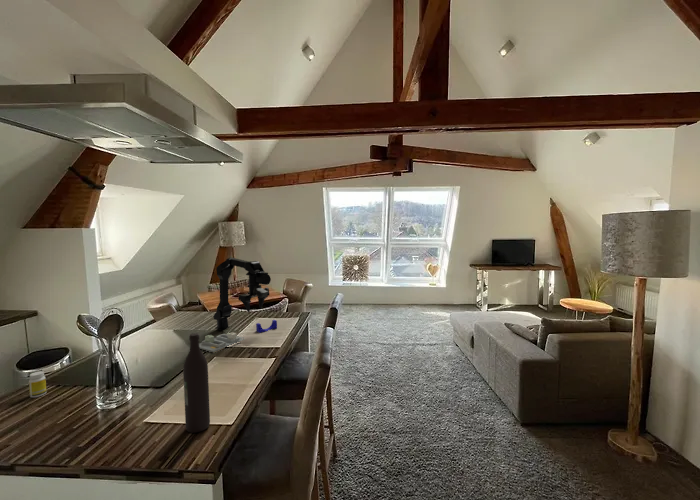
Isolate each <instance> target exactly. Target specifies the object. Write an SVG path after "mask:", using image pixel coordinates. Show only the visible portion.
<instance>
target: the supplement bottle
mask: <svg viewBox="0 0 700 500" xmlns="http://www.w3.org/2000/svg"><path fill="white" fill-rule="evenodd" d="M46 379H47V378H46V376H45V371H44V370H39V371H36V372H32V373H30V374H29V380H28V389H29V390H28V391H29V398H39V397H41V396H44V395H45V394H47V391H48V390H47V381H46Z"/></svg>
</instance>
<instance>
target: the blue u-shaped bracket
mask: <svg viewBox="0 0 700 500" xmlns="http://www.w3.org/2000/svg"><path fill="white" fill-rule="evenodd" d="M255 325H256V326H255V329H256V332H257V333H259V334H261V333H265V331H266V332H269V331H271V329H272V330H275V329H278V321H277V320H276V319H272V321H271V324H270V326H269V327H267V328H263V327H262V324H261V323H259V322H257V323H256V324H255ZM268 330H269V331H268Z"/></svg>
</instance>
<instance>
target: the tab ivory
mask: <svg viewBox="0 0 700 500" xmlns="http://www.w3.org/2000/svg"><path fill="white" fill-rule="evenodd" d="M227 334H228V339H232V340H233V339H236V338H237V333H236V332H234V331H233V332H229V333H227Z"/></svg>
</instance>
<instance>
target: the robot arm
mask: <svg viewBox="0 0 700 500" xmlns="http://www.w3.org/2000/svg"><path fill="white" fill-rule="evenodd" d="M235 267H238V268H240V269H241V268H242V269H244V270H245V271H247V273H245V275H246V276H248V284H247V286H246V287H247V288H248V292H247V294H246V293H244V294H240V295H238V301H240V302H241V303H242V304H243V305H244V308H245V309H246V311H247V312H248V313H250V311H251V303H252V299H253V298H257V303H258V306H259V309H262V308H263V304H264V302H265V300H266V299H268V298H269V296H270V288H269V287H264V288H262V285H265V286H267V285H269V284H270V283H271V281H272V280H271V276H270V275H269V273H268V271H267V272H265V270H264V268H263V267H262V264H261V263H260V261H259V260H253V261H251V260H249V261H248V260H244V259H239V258H236V257H229V258H226V259H225V260H224V261H223V262H221V263H220V264H219V265H217V266H216V269H215V270H216V275H217V277H218V280H219V303H218V305H217V307H216V312H215V313H214V314H213V320H214V321H215V320H216V326H215V327H214V329H215V330H219V331H223V330H225V329H229V328H231V326H229V320H228V319H229V318H231V315H232V312H233V305H232V304H230V302H229V279H230V277H231V275H232V270H233V269H234V268H235Z"/></svg>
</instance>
